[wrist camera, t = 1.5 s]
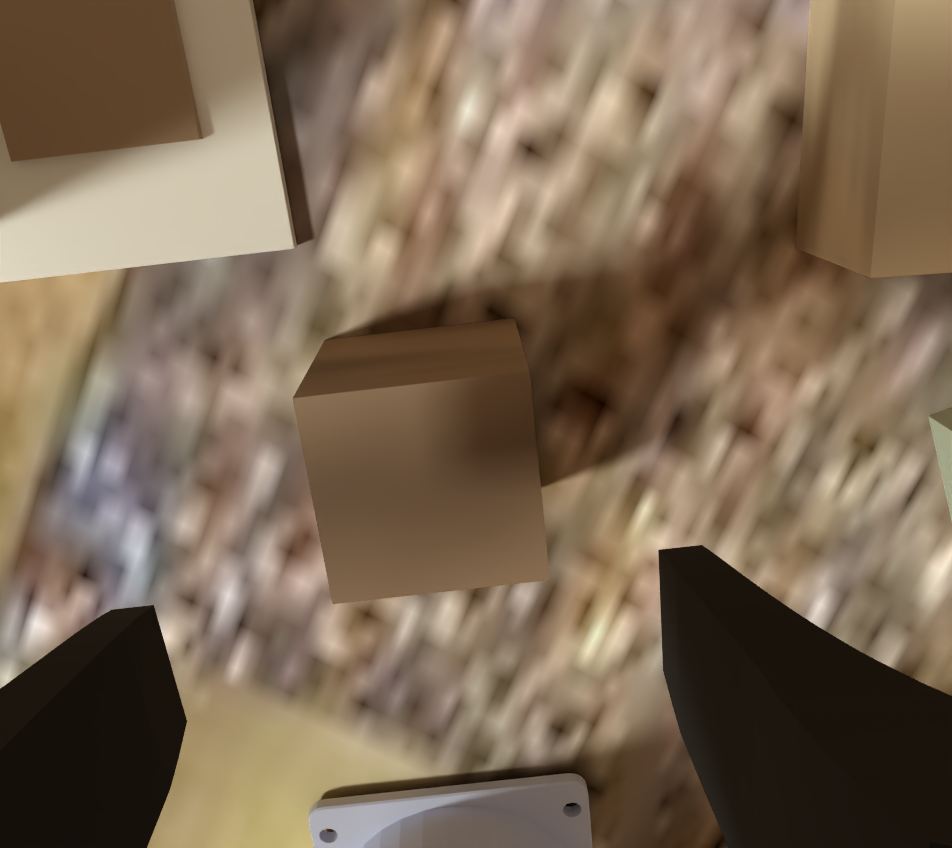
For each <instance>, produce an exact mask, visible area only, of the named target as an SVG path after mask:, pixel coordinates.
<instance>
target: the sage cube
mask: <svg viewBox="0 0 952 848" xmlns="http://www.w3.org/2000/svg"><path fill="white" fill-rule="evenodd" d="M929 421H930V425H931V430H932V434H933V439H934V443H935V448H936V452H937V457H938V461H939V466H940V470H941V475H942V479H943V484H944V488H945V493H946V497H947V502H948V507H949V511H950V516H951V520H952V408H950V409H947V410H944V411H941V412H938V413H936V414H933V415H930V416H929Z"/></svg>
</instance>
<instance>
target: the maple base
mask: <svg viewBox="0 0 952 848" xmlns="http://www.w3.org/2000/svg"><path fill="white" fill-rule="evenodd" d="M795 248H796V249H799V250H801V251H804V252H806V253H809V254H811V255H814V256H816V257H819V258H821V259H824V260H826V261H829V262H831V263H834V264H836V265H839V266H841V267H844V268H846V269H849V270H851V271H854V272H856V273H858V274H861V275H863V276H866V277H868V278H882V277H896V276H910V275H925V274H939V273H952V0H810V15H809V32H808V48H807V65H806V81H805V98H804V114H803V131H802V147H801V164H800V180H799V197H798V213H797V230H796V246H795Z"/></svg>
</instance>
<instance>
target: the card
mask: <svg viewBox="0 0 952 848" xmlns="http://www.w3.org/2000/svg"><path fill="white" fill-rule="evenodd" d="M296 246H297V243H296V237H295V232H294V226H293V220H292V215H291V209H290V204H289V198H288V193H287V187H286V182H285V176H284V171H283V165H282V159H281V154H280V148H279V143H278V137H277V132H276V126H275V121H274V115H273V109H272V104H271V98H270V93H269V87H268V82H267V76H266V71H265V65H264V59H263V54H262V48H261V43H260V37H259V32H258V26H257V21H256V15H255V9H254V4H253V0H0V282H9V281H18V280H26V279H35V278H44V277H52V276H61V275H69V274H78V273H87V272H95V271H104V270H113V269H121V268H130V267H139V266H147V265H156V264H164V263H173V262H182V261H190V260H199V259H208V258H216V257H225V256H234V255H242V254H251V253H259V252H268V251H277V250H285V249H294V248H295V247H296Z"/></svg>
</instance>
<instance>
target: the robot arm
mask: <svg viewBox="0 0 952 848" xmlns="http://www.w3.org/2000/svg"><path fill="white" fill-rule="evenodd" d="M659 574H660V599H661V625H662V651H663V671H664V675H665V679H666V682H667V686H668V690H669V693H670V697H671V701H672V705H673V708H674V712H675V715H676V719H677V722H678V726H679V729H680V733H681V735H682V738H683V740H684V742H685V745H686V747H687V750H688V752H689V755H690V757H691V759H692V762H693V764H694V767H695V769H696V772H697V774H698V776H699V779H700V781H701V784H702V786H703V788H704V791H705V793H706V795H707V798H708V800H709V802H710V805H711V807H712V810H713V812H714V814H715V817H716V819H717V821H718V824H719V826H720V828H721V831H722V833H723V836H724V838H725V840H726V843H727V845H728V847H729V848H952V696H950V695H948V694H946V693H943V692H941V691H939V690H937V689H934V688H932V687H930V686H928V685H925V684H923V683H921V682H919V681H917V680H915V679H913V678H911V677H909V676H907V675H905V674H903V673H901V672H899V671H897V670H895V669H893V668H891V667H889V666H887V665H885V664H883V663H881V662H879V661H877V660H875V659H873V658H871V657H869V656H867V655H865V654H864V653H862V652H860V651H858V650H856V649H855V648H853V647H851V646H849V645H848V644H846V643H844V642H843V641H841V640H839V639H838V638H836V637H834V636H833V635H831V634H829V633H828V632H826V631H824V630H823V629H821V628H819V627H818V626H816V625H815V624H813V623H811V622H810V621H808V620H807V619H805V618H804V617H802V616H801V615H799V614H797V613H796V612H794V611H793V610H792V609H790V608H789V607H787V606H786V605H784V604H783V603H781V602H780V601H778V600H777V599H775V598H774V597H773V596H771V595H770V594H768V593H767V592H765V591H764V590H763V589H761V588H760V587H758V586H757V585H756V584H754V583H753V582H752V581H750V580H749V579H748V578H746V577H745V576H743V575H742V574H741V573H739V572H738V571H737V570H735V569H734V568H733V567H731V566H730V565H729V564H727V563H726V562H725V561H723V560H722V559H721V558H719V557H718V556H716V555H715V554H714V553H712V552H711V551H710V550H708V549H707V548H705V547H704V546H702V545H699V546H690V547H681V548H672V549H663V550H659ZM186 723H187V720H186V716H185V713H184V709H183V706H182V703H181V699H180V696H179V692H178V689H177V685H176V682H175V678H174V675H173V671H172V668H171V664H170V661H169V657H168V654H167V650H166V647H165V643H164V640H163V636H162V633H161V629H160V626H159V622H158V619H157V615H156V612H155V608H154V605H151V606H142V607H133V608H124V609H115V610H111V611H109V612H107V613H105V614H104V615H102V616H100V617H99V618H97V619H96V620H94V621H93V622H91V623H90V624H88V625H87V626H85V627H84V628H83V629H81V630H80V631H78V632H77V633H76V634H74V635H73V636H71V637H70V638H69V639H67V640H66V641H65V642H63V643H62V644H60V645H59V646H58V647H56V648H55V649H54V650H52V651H51V652H50V653H48V654H47V655H46V656H44V657H43V658H42V659H40V660H39V661H38V662H36V663H35V664H33V665H32V666H31V667H29V668H28V669H27V670H25V671H24V672H23V673H21V674H20V675H19V676H17V677H16V678H14V679H13V680H12V681H10V682H9V683H8V684H6V685H5V686H4V687H2V688H1V689H0V848H147V846H148V843H149V841H150V838H151V836H152V833H153V831H154V828H155V826H156V823H157V821H158V818H159V816H160V813H161V811H162V808H163V806H164V803H165V800H166V798H167V795H168V793H169V790H170V787H171V784H172V780H173V776H174V773H175V769H176V765H177V761H178V758H179V753H180V749H181V745H182V740H183V736H184V732H185V727H186ZM569 803H577V804H576V805H575V806H572V807H568V806H565V805H566V804H569ZM308 823H309V828H310V832H311V837H312V841H313V845H314V848H593V845H592V833H591V821H590V809H589V797H588V790H587V785H586V782H585V780H584V779H583V778H582V777H581V776H579V775H577V774H573V773H566V774H556V775H547V776H537V777H528V778H519V779H509V780H500V781H490V782H481V783H472V784H462V785H453V786H443V787H434V788H425V789H415V790H406V791H396V792H387V793H378V794H368V795H359V796H349V797H340V798H330V799H323V800H319V801H317V802H316V803H314V804H313V805H312V807H311V809H310V812H309V817H308ZM324 829H333V830H334V832H327V831H325V830H324Z"/></svg>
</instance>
